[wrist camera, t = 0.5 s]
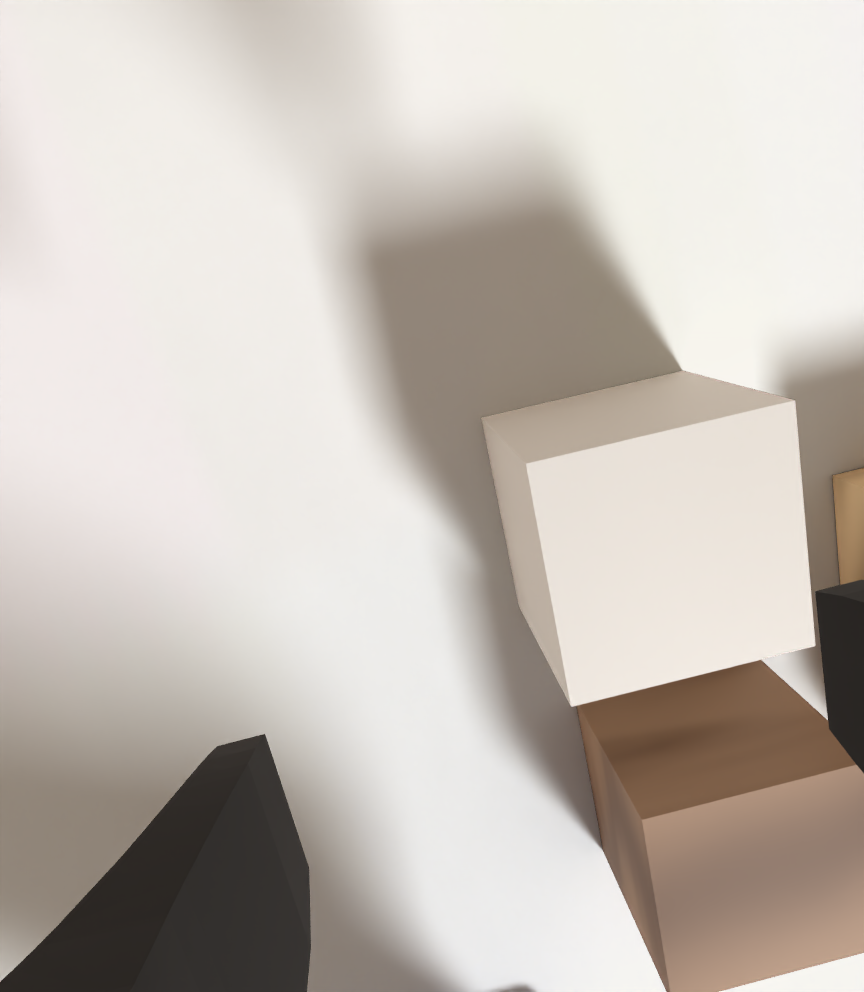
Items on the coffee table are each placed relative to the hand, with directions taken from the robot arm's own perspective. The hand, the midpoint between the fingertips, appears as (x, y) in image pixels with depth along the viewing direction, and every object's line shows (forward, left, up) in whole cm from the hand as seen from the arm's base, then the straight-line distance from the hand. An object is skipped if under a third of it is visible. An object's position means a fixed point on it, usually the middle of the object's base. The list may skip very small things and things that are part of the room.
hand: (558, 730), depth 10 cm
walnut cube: (-8, -5, -10) cm, 14 cm away
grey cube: (0, -4, -10) cm, 10 cm away
